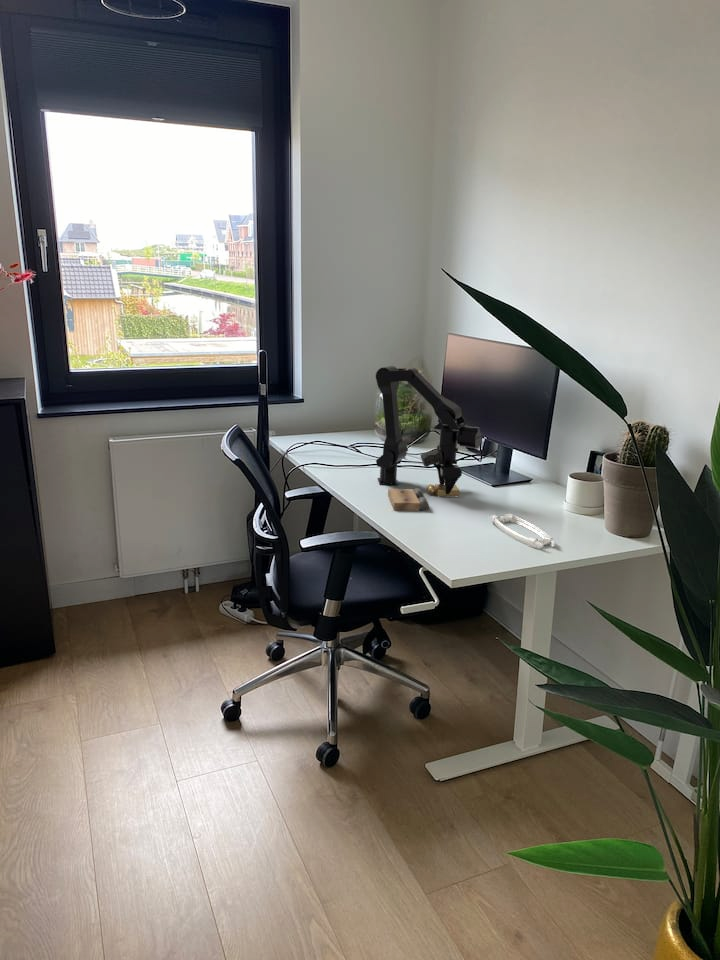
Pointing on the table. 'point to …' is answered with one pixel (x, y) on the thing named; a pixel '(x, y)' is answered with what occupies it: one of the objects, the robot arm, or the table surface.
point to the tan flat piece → (407, 499)
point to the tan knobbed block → (442, 490)
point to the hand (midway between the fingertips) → (444, 489)
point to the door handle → (528, 541)
